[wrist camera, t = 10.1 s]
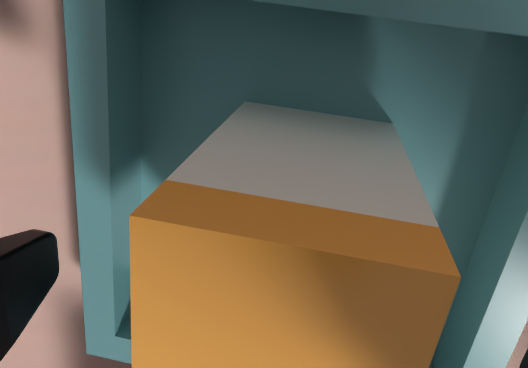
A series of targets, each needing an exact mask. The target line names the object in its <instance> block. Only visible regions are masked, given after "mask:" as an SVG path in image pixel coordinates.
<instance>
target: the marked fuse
mask: <svg viewBox="0 0 528 368" xmlns="http://www.w3.org/2000/svg"><path fill="white" fill-rule="evenodd" d="M129 232H130V295H131V359H132V368H429V366H430V363H431V360H432V357H433V354H434V352H435V349H436V346H437V343H438V341H439V338H440V335H441V332H442V329H443V327H444V324H445V321H446V318H447V316H448V313H449V310H450V307H451V304H452V302H453V299H454V296H455V293H456V290H457V288H458V285H459V282H460V279H461V275H460V273H459V271H458V269H457V266H456V264H455V262H454V260H453V257H452V255H451V253H450V250H449V248H448V246H447V244H446V241H445V239H444V237H443V235H442V232H441V230H440V228H439V226H438V223H437V221H436V219H435V217H434V214H433V212H432V210H431V208H430V205H429V203H428V201H427V198H426V196H425V194H424V192H423V189H422V187H421V185H420V183H419V180H418V178H417V176H416V174H415V171H414V169H413V167H412V165H411V162H410V160H409V158H408V155H407V153H406V151H405V149H404V146H403V144H402V142H401V140H400V137H399V135H398V133H397V131H396V128H395V126H394V124H393V123H386V122H379V121H373V120H366V119H359V118H353V117H346V116H339V115H333V114H326V113H320V112H313V111H306V110H300V109H293V108H286V107H280V106H273V105H266V104H260V103H253V102H246V101H245V102H244V103H243V104H242V105H241V106H240V107H239V108H238V109H237V110H236V111H235V112H234V113H233V114H232V115H231V116H230V117H229V118H228V119H227V120H226V121H225V122H224V123H223V124H222V125H221V126H220V127H219V128H218V129H217V130H216V131H214V132H213V133H212V134H211V135H210V136H209V137H208V138H207V139H206V140H205V141H204V142H203V143H202V144H201V145H200V146H199V147H198V148H197V149H196V150H195V151H194V152H193V153H192V154H191V155H190V156H189V157H188V158H187V159H186V160H185V161H184V162H183V163H182V164H181V165H180V166H179V167H178V168H177V169H176V170H175V171H174V172H173V173H172V174H171V175H170V176H169V177H168V178H167V179H166V180H165V181H164V182H163V183H162V184H161V185H160V186H159V187H158V188H157V189H156V190H155V191H154V192H153V193H152V194H151V195H150V196H148V197H147V198H146V199H145V200H144V201H143V202H142V203H141V204H140V205H139V206H138V207H137V208H136V209H135V210H134V211H133V212H132V213H131V214H130V215H129Z"/></svg>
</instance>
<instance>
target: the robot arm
mask: <svg viewBox="0 0 528 368" xmlns="http://www.w3.org/2000/svg"><path fill="white" fill-rule="evenodd" d="M58 273H59V259H58V248H57V239H56V237H55V235H54V234H53V233H51V232H46V231H41V230H36V229H32V230H28V231H24V232H20V233H17V234H13V235H9V236H6V237H2V238H0V361H1V360H2V359H3V357H4V356H5V355H6V354H7V352H8V351H9V350H10V348H11V347H12V346H13V344H14V343H15V341H16V340H17V339H18V337H19V336H20V334H21V333H22V331H23V330H24V328H25V327H26V325H27V324H28V322H29V321H30V319H31V318H32V316H33V315H34V313H35V311H36V310H37V308H38V307H39V305H40V304H41V302H42V301H43V299H44V298H45V296H46V295H47V293H48V292H49V290H50V289H51V287H52V286H53V284H54V283H55V281H56V279H57V277H58ZM520 368H528V349H527V351H526V353H525V355H524V357H523V359H522V362H521V364H520Z"/></svg>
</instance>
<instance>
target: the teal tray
mask: <svg viewBox="0 0 528 368" xmlns="http://www.w3.org/2000/svg"><path fill="white" fill-rule="evenodd" d="M63 8H64V23H65V38H66V54H67V69H68V84H69V99H70V114H71V129H72V144H73V159H74V175H75V190H76V205H77V220H78V235H79V250H80V265H81V280H82V296H83V311H84V326H85V341H86V354H90V355H94V356H99V357H103V358H107V359H112V360H116V361H120V362H125V363H129V364H132V359H131V295H130V232H129V215H130V214H131V213H132V212H133V211H134V210H135V209H136V208H137V207H138V206H139V205H140V204H141V203H142V202H143V201H144V200H145V199H146V198H147V197H148V196H150V195H151V194H152V193H153V192H154V191H155V190H156V189H157V188H158V187H159V186H160V185H161V184H162V183H163V182H164V181H165V180H166V179H167V178H168V177H169V176H170V175H171V174H172V173H173V172H174V171H175V170H176V169H177V168H178V167H179V166H180V165H181V164H182V163H183V162H184V161H185V160H186V159H187V158H188V157H189V156H190V155H191V154H192V153H193V152H194V151H195V150H196V149H197V148H198V147H199V146H200V145H201V144H202V143H203V142H204V141H205V140H206V139H207V138H208V137H209V136H210V135H211V134H212V133H213V132H214V131H216V130H217V129H218V128H219V127H220V126H221V125H222V124H223V123H224V122H225V121H226V120H227V119H228V118H229V117H230V116H231V115H232V114H233V113H234V112H235V111H236V110H237V109H238V108H239V107H240V106H241V105H242V104H243V103H244V102H245V101H246V102H253V103H260V104H266V105H273V106H280V107H286V108H293V109H300V110H306V111H313V112H320V113H326V114H333V115H339V116H346V117H353V118H359V119H366V120H373V121H379V122H386V123H393V124H394V126H395V128H396V131H397V133H398V135H399V137H400V140H401V142H402V144H403V146H404V149H405V151H406V153H407V155H408V158H409V160H410V162H411V165H412V167H413V169H414V171H415V174H416V176H417V178H418V180H419V183H420V185H421V187H422V189H423V192H424V194H425V196H426V198H427V201H428V203H429V205H430V208H431V210H432V212H433V214H434V217H435V219H436V221H437V223H438V226H439V228H440V230H441V232H442V235H443V237H444V239H445V241H446V244H447V246H448V248H449V250H450V253H451V255H452V257H453V260H454V262H455V264H456V266H457V269H458V271H459V273H460V275H461V279H460V282H459V285H458V288H457V290H456V293H455V296H454V299H453V302H452V304H451V307H450V310H449V313H448V316H447V318H446V321H445V324H444V327H443V329H442V332H441V335H440V338H439V341H438V343H437V346H436V349H435V352H434V354H433V357H432V360H431V363H430V366H429V368H506V365H507V363H508V361H509V359H510V357H511V355H512V352H513V350H514V348H515V346H516V344H517V342H518V339H519V337H520V335H521V333H522V331H523V329H524V326H525V324H526V322H527V320H528V0H63Z"/></svg>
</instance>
